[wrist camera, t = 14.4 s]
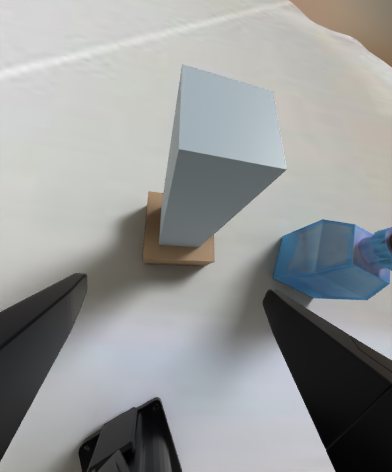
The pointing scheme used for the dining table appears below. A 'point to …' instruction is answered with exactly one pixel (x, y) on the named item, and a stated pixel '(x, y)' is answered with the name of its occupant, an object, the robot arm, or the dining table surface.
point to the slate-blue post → (217, 155)
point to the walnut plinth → (167, 253)
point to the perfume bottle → (335, 260)
